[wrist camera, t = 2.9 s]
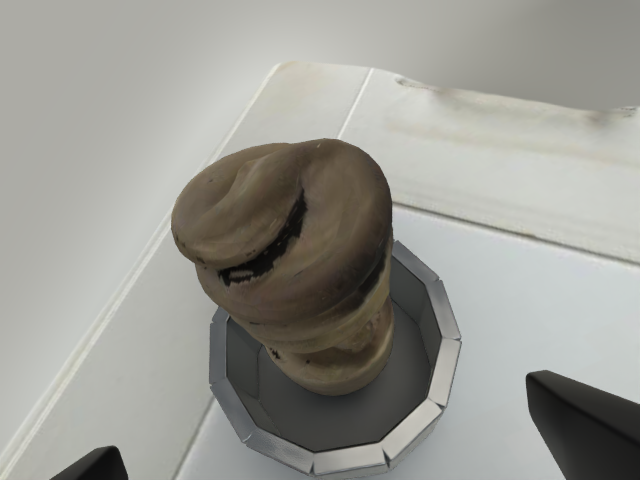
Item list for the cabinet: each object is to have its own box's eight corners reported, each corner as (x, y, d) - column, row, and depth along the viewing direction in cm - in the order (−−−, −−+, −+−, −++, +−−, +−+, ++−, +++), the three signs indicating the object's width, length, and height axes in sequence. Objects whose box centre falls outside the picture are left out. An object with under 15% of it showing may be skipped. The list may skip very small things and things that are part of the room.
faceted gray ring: (490, 375, 20) (516, 343, 16) (323, 535, 18) (302, 547, 13) (352, 243, 25) (344, 192, 21) (209, 351, 23) (169, 318, 19)
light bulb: (273, 397, 21) (98, 246, 9) (309, 303, 24) (216, 82, 11) (378, 435, 19) (353, 317, 7) (405, 329, 22) (423, 103, 9)
